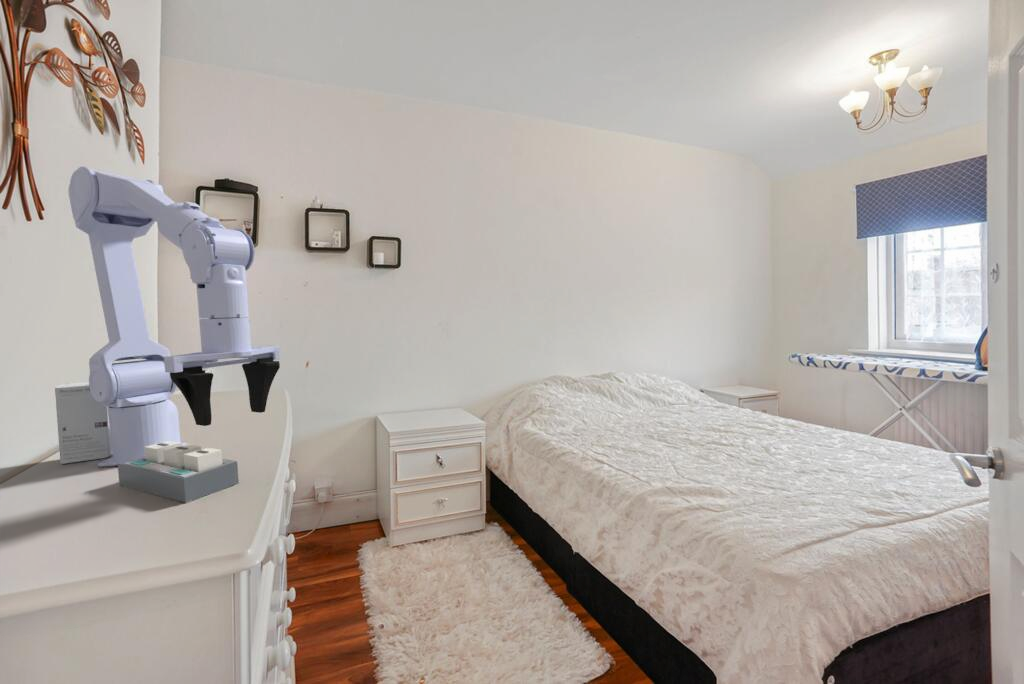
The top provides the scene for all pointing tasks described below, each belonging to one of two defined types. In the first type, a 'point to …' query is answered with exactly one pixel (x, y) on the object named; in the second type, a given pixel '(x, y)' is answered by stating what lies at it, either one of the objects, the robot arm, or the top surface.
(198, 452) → the button
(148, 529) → the top surface
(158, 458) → the button
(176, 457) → the button middle
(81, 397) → the skincare box
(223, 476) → the console
